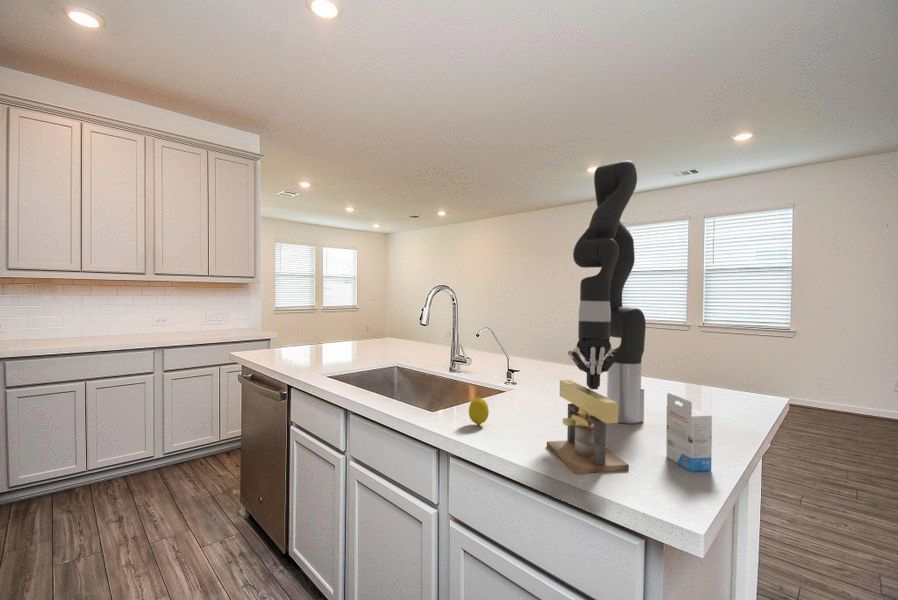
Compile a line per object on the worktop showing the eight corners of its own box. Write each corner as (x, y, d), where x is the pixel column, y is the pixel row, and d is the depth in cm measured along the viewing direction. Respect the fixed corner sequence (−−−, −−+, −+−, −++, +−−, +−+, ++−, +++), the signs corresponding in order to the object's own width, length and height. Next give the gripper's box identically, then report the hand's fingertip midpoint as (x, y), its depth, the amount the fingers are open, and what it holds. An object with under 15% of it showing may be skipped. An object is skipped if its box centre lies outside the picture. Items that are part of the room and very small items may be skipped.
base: (593, 444, 100) (593, 402, 100) (628, 470, 85) (629, 421, 85) (546, 446, 98) (547, 403, 98) (575, 473, 83) (575, 423, 83)
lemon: (487, 429, 110) (487, 400, 110) (467, 427, 111) (467, 399, 111) (489, 423, 115) (489, 395, 115) (470, 421, 117) (470, 394, 116)
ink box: (712, 471, 85) (713, 401, 84) (690, 472, 84) (691, 401, 84) (685, 455, 93) (686, 391, 93) (665, 456, 93) (666, 391, 92)
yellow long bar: (582, 409, 103) (583, 379, 103) (634, 441, 81) (635, 402, 81) (545, 411, 101) (545, 380, 101) (588, 443, 80) (588, 404, 80)
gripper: (611, 318, 105) (609, 385, 105) (562, 318, 103) (561, 385, 103) (627, 320, 98) (626, 391, 98) (576, 320, 96) (574, 392, 96)
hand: (592, 388), depth 101 cm, fingers closed
